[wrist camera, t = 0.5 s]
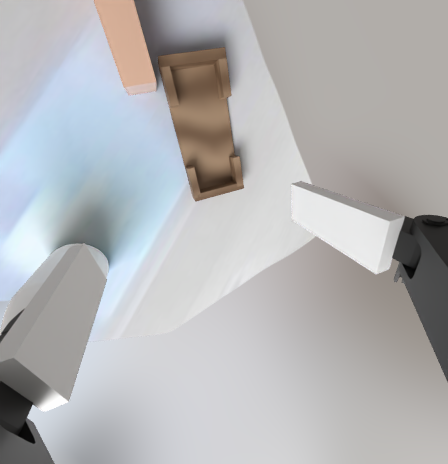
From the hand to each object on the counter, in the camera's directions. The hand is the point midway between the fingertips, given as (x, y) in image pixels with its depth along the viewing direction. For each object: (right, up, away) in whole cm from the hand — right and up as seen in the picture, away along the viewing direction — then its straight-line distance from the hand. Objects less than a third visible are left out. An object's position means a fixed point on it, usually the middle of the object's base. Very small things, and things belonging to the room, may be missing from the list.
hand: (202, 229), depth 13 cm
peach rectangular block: (-12, +27, +14) cm, 32 cm away
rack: (-2, +17, +22) cm, 28 cm away
